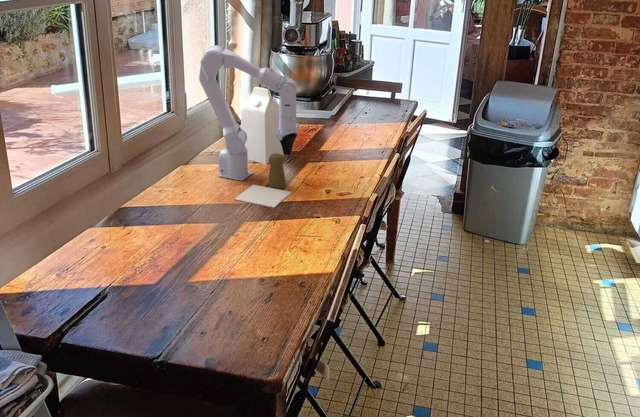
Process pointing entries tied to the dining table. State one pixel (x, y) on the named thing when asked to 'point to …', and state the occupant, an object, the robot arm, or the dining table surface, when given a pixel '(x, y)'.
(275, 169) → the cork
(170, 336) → the dining table surface
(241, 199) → the mat
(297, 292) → the dining table surface
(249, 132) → the milk
